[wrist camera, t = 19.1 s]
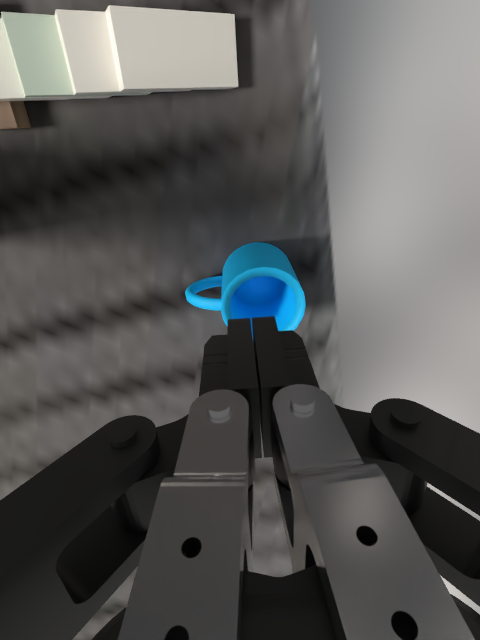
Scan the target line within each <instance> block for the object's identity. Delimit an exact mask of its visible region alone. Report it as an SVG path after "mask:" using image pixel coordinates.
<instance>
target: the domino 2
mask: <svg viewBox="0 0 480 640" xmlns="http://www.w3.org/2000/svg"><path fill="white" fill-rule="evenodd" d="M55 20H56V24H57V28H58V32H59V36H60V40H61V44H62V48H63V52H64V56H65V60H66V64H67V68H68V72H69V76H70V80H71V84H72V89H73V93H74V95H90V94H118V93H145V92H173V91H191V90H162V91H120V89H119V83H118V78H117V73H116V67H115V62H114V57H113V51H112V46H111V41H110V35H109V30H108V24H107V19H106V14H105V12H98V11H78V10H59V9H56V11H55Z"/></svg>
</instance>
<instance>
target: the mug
mask: <svg viewBox="0 0 480 640" xmlns="http://www.w3.org/2000/svg"><path fill="white" fill-rule="evenodd" d="M218 286H222V292H221V299H214V298H206V297H202V296H198V295H196V293H198V292H199V291H202V290H205V289H208V288H213V287H218ZM185 294H186V298H187V301H188V302H190V303H191V304H192V305H194V306H197V307H200V308H203V309H209V310H221V312H222V316H223V320H224V322H225V324H226V325H227V327H228V319H242V318H250V321H251V330H252V318H255V317H269V316H275V320H276V324H277V328H278V331H287V330H295V329H296V328H297V326H298V325H299V323H300V321H301V320H302V318H303V315H304V311H305V306H306V304H305V295H304V292H303V290H302V288H301V285H300V283H299V281H298V279H297V277H296V274H295V272H294V270H293V268H292V266H291V264H290V262H289V260H288V258H287V256H286V255H285V254H284V253H283V252H282V251H281V250H280V249H279V248H277V247H275V246H273V245H271V244H269V243H261V242H255V243H250V244H245V245H243V246H242V247H240V248H238V249H236V250H235V251H234V252H233V253H232V254H231V255H230V256H229V257H228V259H227V261H226V263H225V265H224V267H223V275H222V276H215V277H209V278H205V279H202V280H199V281H196V282H194V283H192V284H191V285H189V287H188V288H187V289H186V292H185ZM252 338H253V331H252Z"/></svg>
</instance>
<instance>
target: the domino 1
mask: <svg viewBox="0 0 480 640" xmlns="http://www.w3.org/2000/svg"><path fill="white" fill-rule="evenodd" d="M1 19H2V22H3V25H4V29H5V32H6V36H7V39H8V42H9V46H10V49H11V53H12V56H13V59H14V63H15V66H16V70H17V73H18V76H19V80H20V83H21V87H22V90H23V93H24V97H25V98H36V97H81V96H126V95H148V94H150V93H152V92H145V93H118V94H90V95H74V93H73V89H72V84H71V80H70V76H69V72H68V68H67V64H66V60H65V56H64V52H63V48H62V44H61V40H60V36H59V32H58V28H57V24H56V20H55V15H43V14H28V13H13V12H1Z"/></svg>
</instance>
